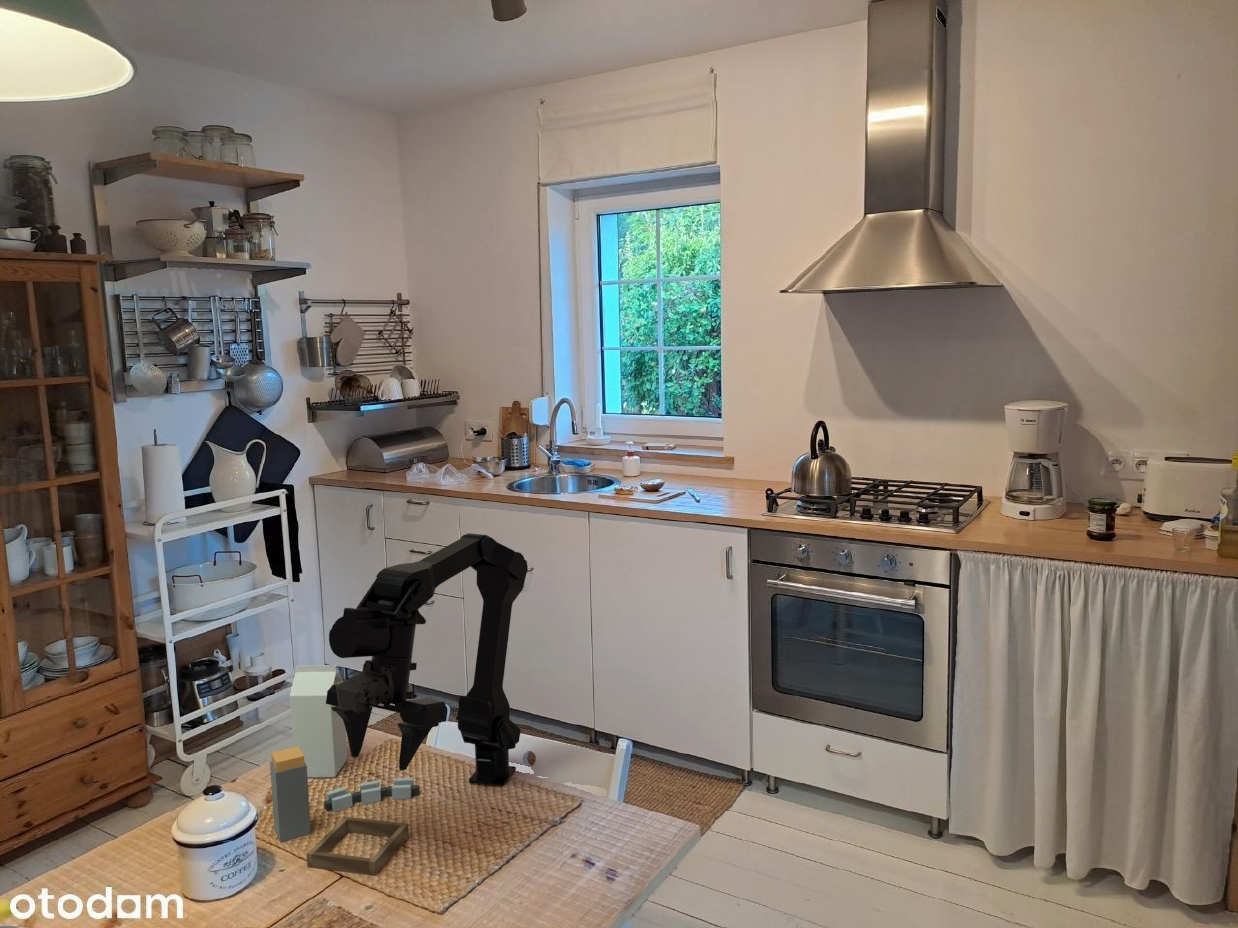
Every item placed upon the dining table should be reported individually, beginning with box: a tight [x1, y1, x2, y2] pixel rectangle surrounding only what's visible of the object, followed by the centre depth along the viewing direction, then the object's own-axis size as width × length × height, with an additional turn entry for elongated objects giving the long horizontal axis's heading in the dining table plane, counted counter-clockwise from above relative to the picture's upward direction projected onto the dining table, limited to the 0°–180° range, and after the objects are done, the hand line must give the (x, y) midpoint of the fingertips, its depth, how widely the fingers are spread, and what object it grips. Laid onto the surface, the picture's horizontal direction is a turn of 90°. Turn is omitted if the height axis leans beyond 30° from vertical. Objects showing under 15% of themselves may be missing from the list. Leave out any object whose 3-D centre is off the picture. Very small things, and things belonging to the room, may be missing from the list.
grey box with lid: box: [269, 747, 312, 843], centre depth 138 cm, size 4×4×12 cm
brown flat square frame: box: [306, 816, 410, 876], centre depth 133 cm, size 11×11×2 cm
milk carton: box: [289, 664, 348, 778], centre depth 158 cm, size 7×7×19 cm
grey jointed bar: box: [323, 777, 421, 813], centre depth 148 cm, size 4×15×2 cm, turn 110°
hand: (378, 763), depth 130 cm, fingers open, 9 cm apart
